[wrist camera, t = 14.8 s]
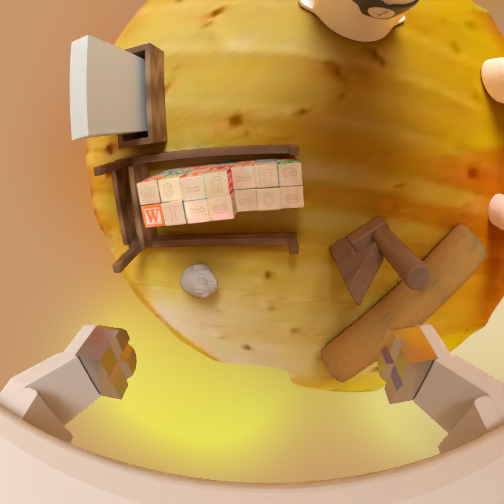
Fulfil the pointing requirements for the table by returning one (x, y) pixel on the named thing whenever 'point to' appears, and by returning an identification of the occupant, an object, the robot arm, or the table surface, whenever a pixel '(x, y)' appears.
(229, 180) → the stack of blocks
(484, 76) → the wine bottle
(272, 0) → the table surface
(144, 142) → the holder
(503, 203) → the cylindrical container
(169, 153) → the rack
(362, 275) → the brown wedge with rod
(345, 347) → the log
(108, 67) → the sheet
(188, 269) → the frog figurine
